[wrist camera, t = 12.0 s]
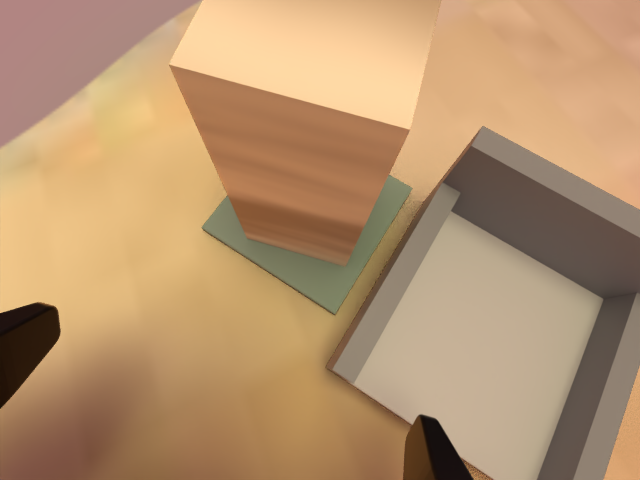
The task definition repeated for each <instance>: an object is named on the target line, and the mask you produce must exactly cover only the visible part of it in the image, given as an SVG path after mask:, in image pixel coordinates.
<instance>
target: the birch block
mask: <svg viewBox="0 0 640 480" xmlns="http://www.w3.org/2000/svg"><path fill="white" fill-rule="evenodd" d="M440 4H441V0H203V1H202V3H201V5H200V7H199V9H198V10H197V12H196V14H195V16H194V18H193V20H192V22H191V24H190V25H189V27H188V29H187V31H186V33H185V35H184V37H183V39H182V40H181V42H180V44H179V46H178V48H177V50H176V52H175V54H174V55H173V57H172V59H171V61H170V63H169V66H170V68H171V70H172V73H173V75H174V77H175V79H176V82H177V84H178V86H179V88H180V90H181V93H182V95H183V97H184V99H185V102H186V104H187V106H188V108H189V110H190V113H191V115H192V117H193V119H194V122H195V124H196V126H197V128H198V130H199V133H200V135H201V137H202V139H203V142H204V144H205V146H206V148H207V150H208V153H209V155H210V157H211V159H212V162H213V164H214V166H215V168H216V170H217V173H218V175H219V177H220V179H221V182H222V184H223V186H224V188H225V190H226V193H227V195H228V197H229V199H230V202H231V204H232V206H233V208H234V210H235V213H236V215H237V217H238V219H239V222H240V224H241V226H242V228H243V230H244V233H245V235H246V237H247V239H250V240H254V241H257V242H261V243H264V244H268V245H271V246H274V247H278V248H281V249H285V250H288V251H292V252H295V253H299V254H302V255H306V256H309V257H312V258H316V259H319V260H323V261H326V262H330V263H333V264H337V265H340V266H344V267H345V266H346V264H347V262H348V260H349V258H350V256H351V254H352V252H353V249H354V247H355V245H356V243H357V241H358V239H359V237H360V235H361V233H362V230H363V228H364V226H365V224H366V222H367V220H368V218H369V216H370V213H371V211H372V209H373V207H374V205H375V203H376V201H377V199H378V197H379V194H380V192H381V190H382V188H383V186H384V184H385V182H386V180H387V177H388V175H389V173H390V171H391V169H392V167H393V165H394V163H395V161H396V158H397V156H398V154H399V152H400V150H401V148H402V146H403V144H404V141H405V139H406V137H407V135H408V133H409V131H410V128H411V124H412V120H413V116H414V111H415V107H416V103H417V99H418V95H419V91H420V87H421V82H422V78H423V74H424V70H425V66H426V62H427V58H428V54H429V49H430V45H431V41H432V37H433V33H434V29H435V25H436V20H437V16H438V12H439V8H440Z"/></svg>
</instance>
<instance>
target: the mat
mask: <svg viewBox="0 0 640 480" xmlns="http://www.w3.org/2000/svg"><path fill="white" fill-rule="evenodd" d="M411 190H412V188H411V187H410V186H408V185H406V184H404V183H403V182H401V181H399V180H397V179H396V178H394V177H392V176H391V175H388V177H387V180H386V182H385V184H384V186H383V188H382V190H381V192H380V194H379V197H378V199H377V201H376V203H375V205H374V207H373V209H372V211H371V213H370V216H369V218H368V220H367V222H366V224H365V226H364V228H363V230H362V233H361V235H360V237H359V239H358V241H357V243H356V245H355V247H354V249H353V252H352V254H351V256H350V258H349V260H348V262H347V264H346V266H345V267H344V266H340V265H337V264H333V263H330V262H326V261H323V260H319V259H316V258H312V257H309V256H306V255H302V254H299V253H295V252H292V251H288V250H285V249H281V248H278V247H274V246H271V245H268V244H264V243H261V242H257V241H254V240H250V239H247V237H246V235H245V233H244V230H243V228H242V226H241V224H240V222H239V219H238V217H237V215H236V213H235V210H234V208H233V206H232V204H231V202H230V199H229V197H228V195H227V196H226V198H225V199H224V200H223V201H222V203H221V204H220V205H219V206H218V207H217V209H216V210H215V211H214V212H213V214H212V215H211V216H210V217H209V219H208V220H207V221H206V222H205V224H204V225H203V226H202V229H203V230H204V231H205V232H207V233H209V234H210V235H212V236H213V237H215V238H216V239H218V240H219V241H221V242H222V243H224V244H226V245H227V246H229V247H230V248H232V249H233V250H235V251H236V252H238V253H239V254H241V255H243V256H244V257H246V258H247V259H249V260H250V261H252V262H253V263H255V264H256V265H258V266H260V267H261V268H263V269H264V270H266V271H267V272H269V273H270V274H272V275H273V276H275V277H277V278H278V279H280V280H281V281H283V282H284V283H286V284H287V285H289V286H290V287H292V288H293V289H295V290H297V291H298V292H300V293H301V294H303V295H304V296H306V297H307V298H309V299H310V300H312V301H314V302H315V303H317V304H318V305H320V306H321V307H323V308H324V309H326V310H327V311H329V312H331V313H332V314H334V315H335V314H336V312H337V310H338V309H339V307H340V305H341V304H342V302H343V301H344V299H345V297H346V296H347V294H348V292H349V291H350V289H351V288H352V286H353V284H354V283H355V281H356V279H357V278H358V276H359V275H360V273H361V271H362V270H363V268H364V266H365V265H366V263H367V262H368V260H369V258H370V257H371V255H372V253H373V252H374V250H375V249H376V247H377V245H378V244H379V242H380V240H381V239H382V237H383V236H384V234H385V232H386V231H387V229H388V227H389V226H390V224H391V223H392V221H393V219H394V218H395V216H396V214H397V213H398V211H399V210H400V208H401V206H402V205H403V203H404V201H405V200H406V198H407V197H408V195H409V193H410V192H411Z"/></svg>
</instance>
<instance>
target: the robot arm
mask: <svg viewBox="0 0 640 480" xmlns="http://www.w3.org/2000/svg"><path fill="white" fill-rule="evenodd" d="M60 332H61V330H60V322H59V314H58V310H57V308H56V307H55V306H52V305H49V304H45V303H41V302H37V303H33V304H30V305H26V306H23V307H20V308H16V309H13V310H10V311H6V312H3V313H0V409H1V408H2V407H3V406H4V404H5V403H6V402H7V401H8V400H9V399H10V398H11V397H12V396H13V395H14V393H15V392H16V391H17V390H18V389H19V388H20V386H21V385H22V384H23V383H24V381H25V380H26V379H27V378H28V377H29V375H30V374H31V373H32V372H33V370H34V369H35V368H36V367H37V366H38V364H39V363H40V362H41V361H42V359H43V358H44V357H45V356H46V354H47V353H48V352H49V351H50V350H51V348H52V347H53V346H54V345H55V343H56V342H57V341H58V339H59V336H60ZM403 480H474V479H473V477H472V476H471V474H470V473H469V471H468V469H467V468H466V466H465V464H464V463H463V461H462V459H461V458H460V456H459V454H458V453H457V451H456V449H455V448H454V446H453V444H452V443H451V441H450V439H449V438H448V436H447V434H446V433H445V431H444V429H443V428H442V426H441V424H440V423H439V421H438V420H437V419H436V418H434V417H431V416H427V415H424V414H419V415H418V416H417V417H416V419H415V421H414V423H413V425H412V427H411V429H410V431H409V433H408V435H407V437H406V442H405V454H404V474H403Z"/></svg>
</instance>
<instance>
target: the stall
mask: <svg viewBox="0 0 640 480" xmlns="http://www.w3.org/2000/svg"><path fill="white" fill-rule="evenodd" d="M639 366H640V210H639V209H637V208H635V207H634V206H632V205H630V204H628V203H626V202H624V201H622V200H620V199H619V198H617V197H615V196H613V195H611V194H609V193H607V192H606V191H604V190H602V189H600V188H598V187H596V186H594V185H592V184H591V183H589V182H587V181H585V180H583V179H581V178H579V177H577V176H576V175H574V174H572V173H570V172H568V171H566V170H564V169H563V168H561V167H559V166H557V165H555V164H553V163H551V162H549V161H548V160H546V159H544V158H542V157H540V156H538V155H536V154H535V153H533V152H531V151H529V150H527V149H525V148H523V147H521V146H520V145H518V144H516V143H514V142H512V141H510V140H508V139H506V138H505V137H503V136H501V135H499V134H497V133H495V132H493V131H492V130H490V129H488V128H486V127H484V126H482V128H481V129H480V130H479V131H478V133H477V134H476V135H475V137H474V138H473V139H472V140H471V142H470V143H469V144H468V146H467V147H466V148H465V149H464V151H463V152H462V153H461V155H460V156H459V157H458V158H457V160H456V161H455V162H454V164H453V165H452V166H451V167H450V169H449V170H448V171H447V173H446V174H445V175H444V176H443V178H442V179H441V180H440V182H439V183H438V184H437V186H436V187H435V188H434V189H433V191H432V192H431V193H430V195H429V196H428V197H427V198H426V200H425V201H424V202H423V204H422V206H421V207H420V209H419V211H418V212H417V214H416V216H415V218H414V219H413V221H412V223H411V224H410V226H409V228H408V229H407V231H406V233H405V234H404V236H403V238H402V239H401V241H400V243H399V244H398V246H397V248H396V249H395V251H394V253H393V255H392V256H391V258H390V260H389V261H388V263H387V265H386V266H385V268H384V270H383V271H382V273H381V275H380V276H379V278H378V280H377V281H376V283H375V285H374V286H373V288H372V290H371V292H370V293H369V295H368V297H367V298H366V300H365V302H364V303H363V305H362V307H361V308H360V310H359V312H358V313H357V315H356V317H355V318H354V320H353V322H352V323H351V325H350V327H349V329H348V330H347V332H346V334H345V335H344V337H343V339H342V340H341V342H340V344H339V345H338V347H337V349H336V350H335V352H334V354H333V355H332V357H331V359H330V360H329V362H328V364H327V366H326V368H327V369H329V370H330V371H332V372H333V373H335V374H336V375H338V376H339V377H341V378H342V379H344V380H345V381H347V382H348V383H350V384H351V385H353V386H354V387H356V388H357V389H358V390H360V391H361V392H363V393H364V394H366V395H367V396H369V397H370V398H372V399H373V400H375V401H376V402H378V403H379V404H381V405H382V406H384V407H385V408H387V409H388V410H390V411H391V412H393V413H394V414H396V415H397V416H399V417H400V418H402V419H403V420H405V421H406V422H408V423H409V424H411V425H413V423H414V421H415V419H416V417H417V416H418V415H419V414H424V415H427V416H431V417H434V418H436V419H437V420H438V421H439V423H440V424H441V426H442V428H443V429H444V431H445V433H446V434H447V436H448V438H449V439H450V441H451V443H452V444H453V446H454V448H455V449H456V451H457V453H458V454H459V456H460V458H461V459H463V460H464V461H466V462H467V463H469V464H470V465H472V466H473V467H475V468H476V469H478V470H479V471H480V472H482V473H483V474H485V475H486V476H488V477H489V478H491V479H492V480H603V479H604V476H605V473H606V470H607V467H608V463H609V460H610V457H611V454H612V451H613V448H614V444H615V441H616V438H617V435H618V432H619V429H620V425H621V422H622V419H623V416H624V413H625V410H626V407H627V403H628V400H629V397H630V394H631V391H632V388H633V384H634V381H635V378H636V375H637V372H638V369H639Z"/></svg>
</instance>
